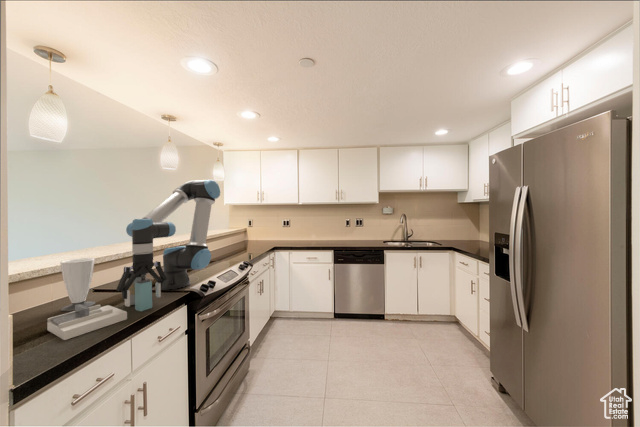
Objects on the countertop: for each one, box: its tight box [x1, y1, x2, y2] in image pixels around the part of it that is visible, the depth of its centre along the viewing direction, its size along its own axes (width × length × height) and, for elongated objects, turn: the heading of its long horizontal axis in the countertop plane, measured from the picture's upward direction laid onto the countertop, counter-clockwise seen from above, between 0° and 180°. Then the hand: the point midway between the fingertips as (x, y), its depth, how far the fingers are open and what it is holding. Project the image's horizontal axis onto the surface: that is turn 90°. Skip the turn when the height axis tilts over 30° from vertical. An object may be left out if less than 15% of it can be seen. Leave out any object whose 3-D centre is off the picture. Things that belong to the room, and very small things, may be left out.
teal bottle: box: [134, 275, 153, 312], centre depth 108 cm, size 5×5×15 cm
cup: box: [59, 257, 96, 312], centre depth 111 cm, size 12×12×22 cm
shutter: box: [52, 304, 89, 325], centre depth 90 cm, size 8×9×4 cm
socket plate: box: [46, 304, 128, 341], centre depth 93 cm, size 18×16×4 cm
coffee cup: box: [125, 269, 147, 306], centre depth 115 cm, size 9×9×15 cm
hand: (143, 301), depth 108 cm, fingers open, 12 cm apart
